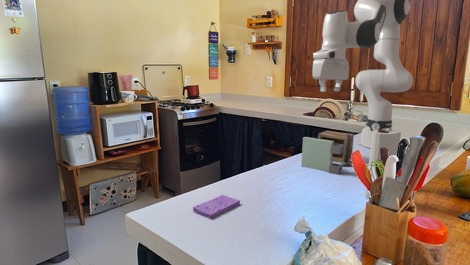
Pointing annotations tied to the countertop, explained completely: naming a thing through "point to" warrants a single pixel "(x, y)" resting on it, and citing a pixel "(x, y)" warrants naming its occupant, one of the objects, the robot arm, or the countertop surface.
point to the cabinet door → (321, 155)
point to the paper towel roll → (383, 145)
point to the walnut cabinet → (340, 139)
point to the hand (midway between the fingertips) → (330, 91)
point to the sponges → (216, 206)
